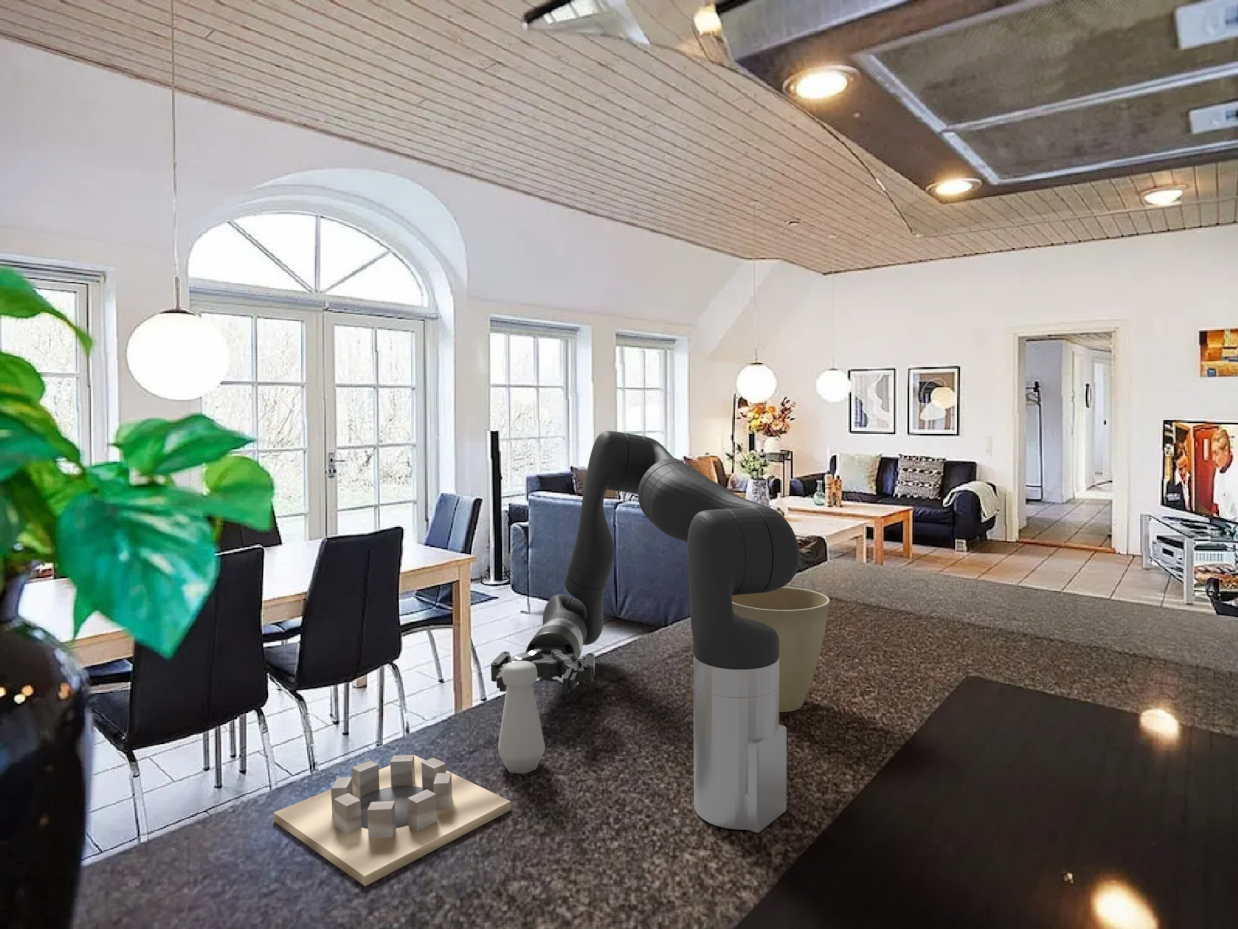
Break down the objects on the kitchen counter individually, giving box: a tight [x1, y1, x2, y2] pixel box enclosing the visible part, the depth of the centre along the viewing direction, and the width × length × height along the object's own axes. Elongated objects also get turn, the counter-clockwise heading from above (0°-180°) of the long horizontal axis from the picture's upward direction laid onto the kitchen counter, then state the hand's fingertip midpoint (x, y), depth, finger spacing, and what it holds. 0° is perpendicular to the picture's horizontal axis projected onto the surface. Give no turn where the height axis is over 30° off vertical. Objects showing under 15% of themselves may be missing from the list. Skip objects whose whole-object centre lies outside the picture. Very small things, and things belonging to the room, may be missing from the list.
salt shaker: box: [497, 661, 546, 775], centre depth 98 cm, size 6×6×13 cm
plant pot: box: [732, 586, 831, 713], centre depth 117 cm, size 15×15×16 cm
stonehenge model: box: [273, 754, 512, 887], centre depth 87 cm, size 18×18×4 cm
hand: (533, 685), depth 105 cm, fingers open, 8 cm apart
